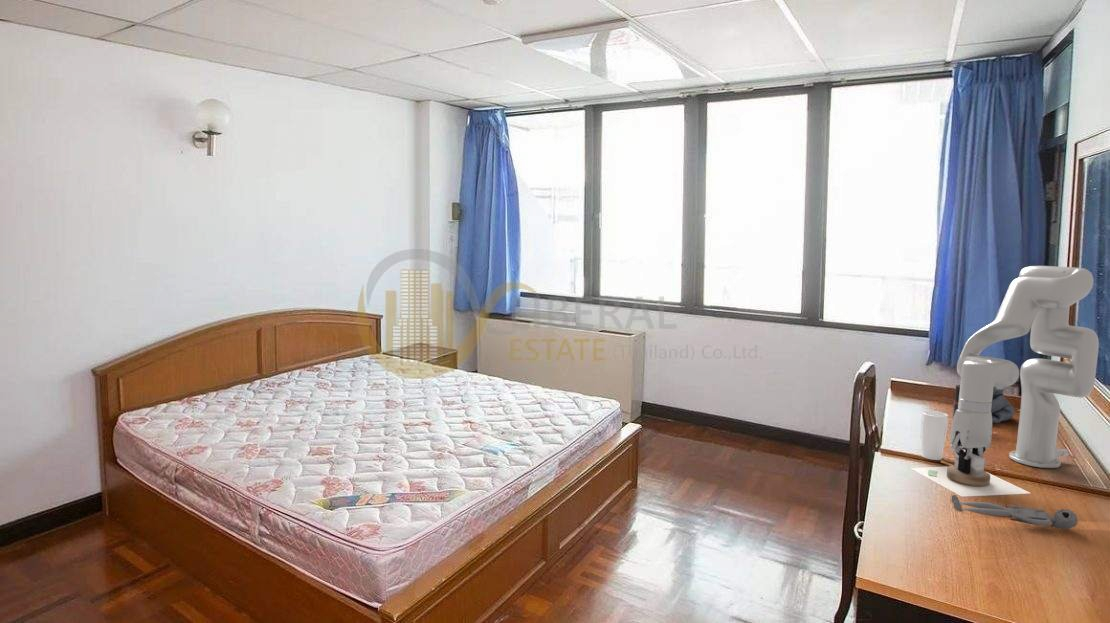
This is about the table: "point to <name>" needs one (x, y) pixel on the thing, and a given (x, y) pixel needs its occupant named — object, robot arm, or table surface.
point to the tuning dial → (976, 472)
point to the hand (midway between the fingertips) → (968, 470)
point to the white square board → (994, 488)
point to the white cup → (933, 434)
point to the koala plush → (1000, 406)
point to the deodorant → (956, 398)
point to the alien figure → (1022, 514)
